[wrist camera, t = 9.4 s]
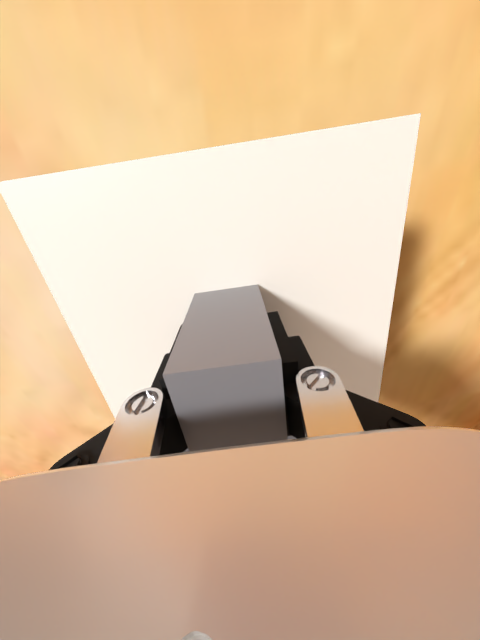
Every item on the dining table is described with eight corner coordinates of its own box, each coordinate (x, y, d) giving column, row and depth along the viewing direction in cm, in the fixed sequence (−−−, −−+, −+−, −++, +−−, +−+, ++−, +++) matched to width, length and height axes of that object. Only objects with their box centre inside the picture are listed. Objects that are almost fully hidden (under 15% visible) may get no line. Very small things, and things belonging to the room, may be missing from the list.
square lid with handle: (410, 118, 9) (718, -24, 3) (370, 417, 16) (448, 540, 10) (8, 183, 10) (-326, 157, 4) (136, 446, 17) (85, 579, 11)
